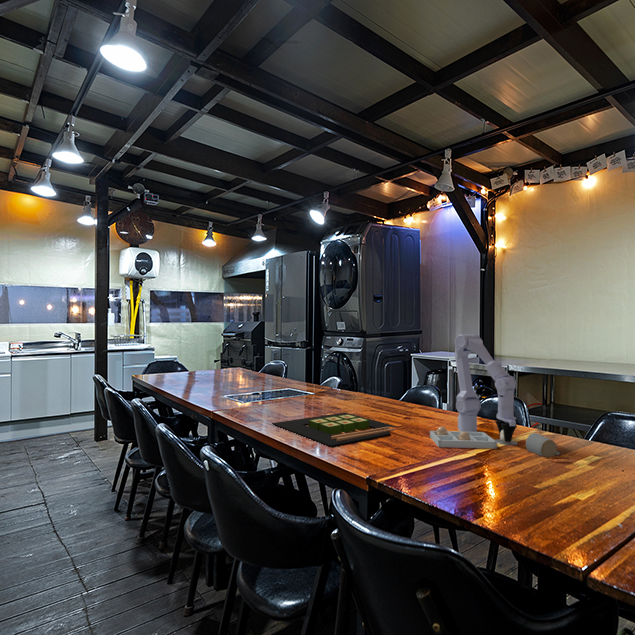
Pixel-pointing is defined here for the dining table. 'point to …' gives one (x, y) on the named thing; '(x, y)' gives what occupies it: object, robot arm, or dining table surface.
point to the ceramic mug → (541, 445)
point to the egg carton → (453, 440)
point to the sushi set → (337, 428)
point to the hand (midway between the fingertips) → (505, 440)
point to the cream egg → (502, 437)
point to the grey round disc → (506, 443)
